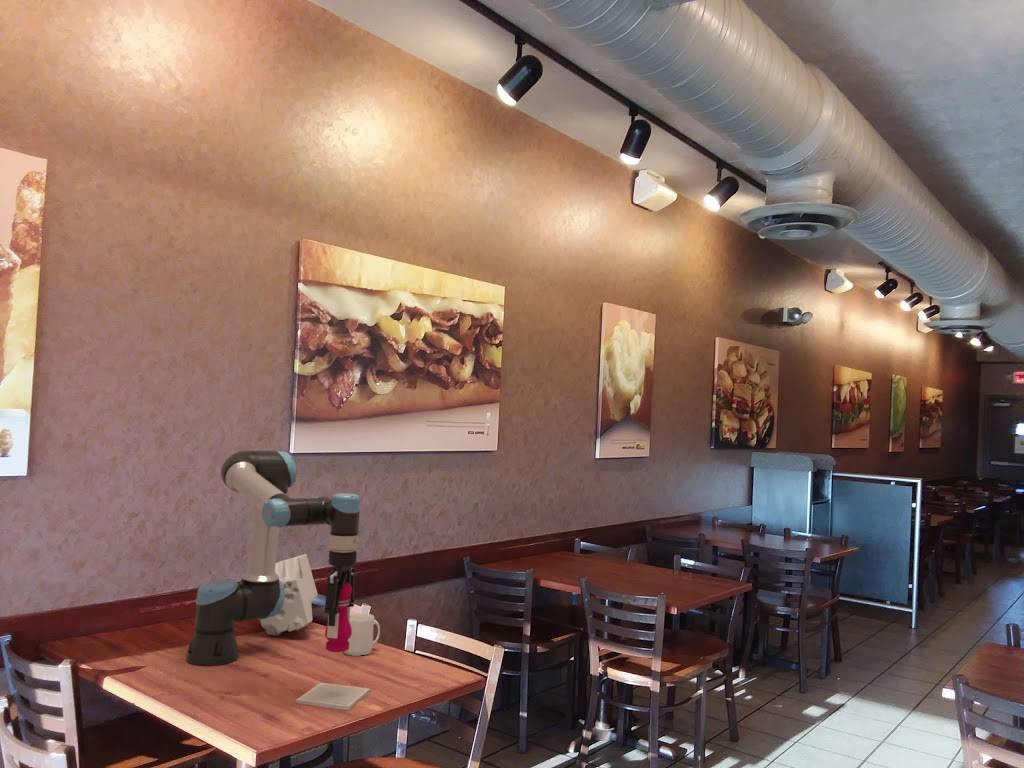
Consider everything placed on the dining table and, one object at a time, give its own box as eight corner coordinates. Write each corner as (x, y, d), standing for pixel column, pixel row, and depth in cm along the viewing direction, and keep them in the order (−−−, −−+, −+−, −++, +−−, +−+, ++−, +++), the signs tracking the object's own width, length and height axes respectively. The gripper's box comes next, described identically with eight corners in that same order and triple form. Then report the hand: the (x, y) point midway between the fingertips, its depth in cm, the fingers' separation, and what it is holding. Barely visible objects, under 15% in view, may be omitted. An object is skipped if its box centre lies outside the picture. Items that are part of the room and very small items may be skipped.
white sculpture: (310, 633, 272) (290, 562, 274) (265, 647, 272) (245, 575, 274) (325, 619, 292) (306, 553, 294) (283, 632, 292) (265, 566, 294)
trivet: (296, 703, 214) (296, 699, 214) (320, 686, 228) (320, 682, 229) (348, 710, 211) (348, 706, 211) (370, 692, 225) (370, 688, 225)
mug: (336, 651, 262) (339, 615, 263) (366, 645, 271) (368, 610, 272) (354, 658, 256) (356, 621, 257) (384, 652, 265) (386, 616, 265)
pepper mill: (327, 653, 215) (332, 578, 216) (321, 646, 222) (325, 573, 223) (353, 651, 219) (358, 577, 220) (346, 644, 225) (350, 572, 226)
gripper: (341, 556, 211) (335, 644, 210) (369, 546, 231) (364, 626, 229) (314, 554, 213) (309, 641, 211) (345, 544, 232) (340, 624, 231)
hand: (338, 634), depth 220 cm, fingers closed on pepper mill, 7 cm apart
